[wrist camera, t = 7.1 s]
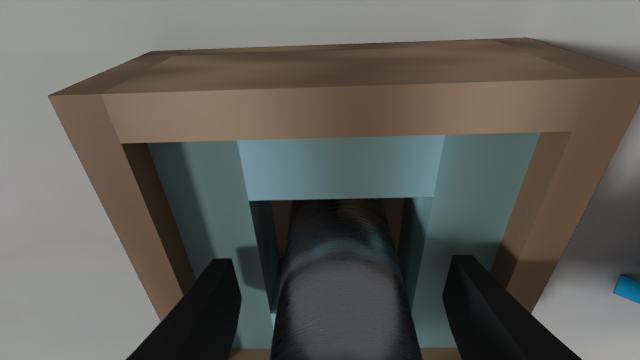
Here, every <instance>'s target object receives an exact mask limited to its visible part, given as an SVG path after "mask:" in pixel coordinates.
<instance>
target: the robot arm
mask: <svg viewBox="0 0 640 360" xmlns="http://www.w3.org/2000/svg"><path fill="white" fill-rule="evenodd" d="M442 299H443V303H444V307H445V311H446V315H447V319H448V322H449V326H450V329H451V332H452V335H453V337H454V340H455V343H456V345H457V348H458V350H459V353H460V356H461V358H462V360H582V359H581V358H580V357H578V356H577V355H576V354H575V353H574V352H572V351H571V350H570V349H569V348H568V347H567V346H565V345H564V344H563V343H562V342H561V341H560V340H559V339H558V338H556V337H555V336H554V335H553V334H552V333H551V332H550V331H549V330H547V329H546V328H545V327H544V326H543V325H542V324H541V323H540V322H539V321H538V320H537V319H536V318H535V317H534V316H532V315H531V314H530V313H529V312H528V311H527V310H526V309H525V308H524V307H523V306H522V305H521V304H520V303H519V302H518V301H517V300H516V299H515V298H514V297H513V296H512V295H511V294H510V293H509V292H508V291H507V290H506V289H505V288H504V287H503V286H502V285H501V284H500V283H499V282H498V281H497V280H496V279H495V278H494V277H493V276H492V275H491V274H490V273H489V272H488V271H487V270H486V269H485V268H484V267H483V265H482V264H481V263H480V262H479V261H478V260H477V259H476V258H475V257H474V256H473V255H452V259H451V263H450V267H449V271H448V275H447V278H446V282H445V286H444V290H443V294H442ZM241 302H242V296H241V292H240V288H239V285H238V281H237V277H236V273H235V269H234V265H233V261H232V258H214V259H212V260H211V261H210V263H209V264H208V265H207V267H206V268H205V269H204V270H203V272H202V273H201V274H200V276H199V277H198V278H197V279H196V281H195V282H194V283H193V284H192V286H191V287H190V288H189V289H188V291H187V292H186V293H185V294H184V296H183V297H182V298H181V299H180V300H179V301H178V303H177V304H176V305H175V306H174V307H173V309H172V310H171V311H170V312H169V313H168V315H167V316H166V317H165V318H164V319H163V320H162V321H161V323H160V324H159V325H158V326H157V327H156V328H155V329H154V330H153V331H152V332H151V334H150V335H149V336H148V337H147V338H146V339H145V340H144V341H143V342H142V343H141V344H140V346H139V347H138V348H137V349H136V350H135V351H134V352H133V353H132V354H131V355H130V356H129V357H128V358H127V359H126V360H228V359H229V355H230V352H231V348H232V345H233V341H234V338H235V334H236V330H237V325H238V320H239V314H240V308H241Z"/></svg>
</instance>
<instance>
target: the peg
mask: <svg viewBox="0 0 640 360" xmlns="http://www.w3.org/2000/svg"><path fill="white" fill-rule="evenodd" d="M269 360H423V358H422V354H421V350H420V346H419V342H418V338H417V334H416V330H415V326H414V322H413V318H412V314H411V310H410V306H409V302H408V298H407V294H406V290H405V286H404V282H403V278H402V274H401V270H400V266H399V262H398V259H397V255H396V251H395V247H394V243H393V239H392V235H391V231H390V227H389V223H388V219H387V215H386V211H385V207H384V203H383V200H382V198H355V199H306V200H293V203H292V207H291V214H290V221H289V228H288V234H287V241H286V248H285V255H284V262H283V269H282V276H281V283H280V290H279V296H278V303H277V310H276V317H275V324H274V331H273V338H272V345H271V352H270V359H269Z"/></svg>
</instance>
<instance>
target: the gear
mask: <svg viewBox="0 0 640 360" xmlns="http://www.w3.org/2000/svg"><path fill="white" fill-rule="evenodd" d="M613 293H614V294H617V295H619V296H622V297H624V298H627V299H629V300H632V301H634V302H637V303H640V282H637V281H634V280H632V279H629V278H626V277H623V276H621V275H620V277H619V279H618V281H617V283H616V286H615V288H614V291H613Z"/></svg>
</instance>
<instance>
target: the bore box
mask: <svg viewBox="0 0 640 360" xmlns="http://www.w3.org/2000/svg"><path fill="white" fill-rule="evenodd" d="M48 98H49V100H50V102H51V104H52V106H53V108H54V110H55V112H56V114H57V116H58V118H59V120H60V122H61V124H62V126H63V128H64V130H65V132H66V134H67V136H68V138H69V140H70V142H71V144H72V146H73V147H74V149H75V151H76V153H77V155H78V157H79V159H80V161H81V163H82V165H83V167H84V169H85V171H86V173H87V175H88V177H89V179H90V181H91V183H92V185H93V187H94V189H95V191H96V193H97V195H98V197H99V199H100V201H101V203H102V205H103V207H104V209H105V211H106V213H107V215H108V217H109V219H110V221H111V223H112V225H113V227H114V229H115V231H116V233H117V235H118V237H119V239H120V241H121V243H122V245H123V247H124V249H125V251H126V253H127V255H128V257H129V259H130V261H131V263H132V265H133V267H134V269H135V271H136V273H137V275H138V277H139V279H140V281H141V283H142V285H143V287H144V289H145V291H146V293H147V295H148V297H149V299H150V301H151V303H152V305H153V307H154V309H155V311H156V313H157V315H158V317H159V319H160V321H162V320H163V319H164V318H165V317H166V316H167V315H168V313H169V312H170V311H171V310H172V309H173V307H174V306H175V305H176V304H177V303H178V301H179V300H180V299H181V298H182V297H183V296H184V294H185V293H186V292H187V291H188V289H189V288H190V287H191V286H192V284H193V283H194V282H195V281H196V279H197V278H198V277H199V276H200V274H201V273H202V272H203V270H204V269H205V268H206V267H207V265H208V264H209V263H210V261H211V260H212V259H214V258H232V261H233V265H234V269H235V273H236V277H237V281H238V285H239V288H240V292H241V296H242V302H241V308H240V314H239V320H238V325H237V330H236V334H235V338H234V341H233V345H232V348H231V352H230V355H229V359H228V360H269V359H270V352H271V345H272V338H273V331H274V324H275V317H276V310H277V303H278V296H279V290H280V283H281V276H282V269H283V262H284V255H285V248H286V241H287V234H288V228H289V221H290V214H291V207H292V203H293V200H306V199H355V198H382V200H383V203H384V207H385V211H386V215H387V219H388V223H389V227H390V231H391V235H392V239H393V243H394V247H395V251H396V255H397V259H398V262H399V266H400V270H401V274H402V278H403V282H404V286H405V290H406V294H407V298H408V302H409V306H410V310H411V314H412V318H413V322H414V326H415V330H416V334H417V338H418V342H419V346H420V350H421V354H422V358H423V360H462V358H461V356H460V353H459V350H458V348H457V345H456V343H455V340H454V337H453V335H452V332H451V329H450V326H449V322H448V319H447V315H446V311H445V307H444V303H443V299H442V294H443V290H444V286H445V282H446V278H447V275H448V271H449V267H450V263H451V259H452V255H473V256H474V257H475V258H476V259H477V260H478V261H479V262H480V263H481V264H482V265H483V267H484V268H485V269H486V270H487V271H488V272H489V273H490V274H491V275H492V276H493V277H494V278H495V279H496V280H497V281H498V282H499V283H500V284H501V285H502V286H503V287H504V288H505V289H506V290H507V291H508V292H509V293H510V294H511V295H512V296H513V297H514V298H515V299H516V300H517V301H518V302H519V303H520V304H521V305H522V306H523V307H524V308H525V309H526V310H527V311H528V312H529V313H530V314H531V313H532V311H533V309H534V307H535V305H536V303H537V301H538V299H539V298H540V296H541V294H542V292H543V290H544V288H545V286H546V284H547V282H548V280H549V278H550V276H551V274H552V272H553V270H554V269H555V267H556V265H557V263H558V261H559V259H560V257H561V255H562V253H563V251H564V249H565V247H566V245H567V243H568V241H569V240H570V238H571V236H572V234H573V232H574V230H575V228H576V226H577V224H578V222H579V220H580V218H581V216H582V214H583V212H584V211H585V209H586V207H587V205H588V203H589V201H590V199H591V197H592V195H593V193H594V191H595V189H596V187H597V185H598V183H599V181H600V180H601V178H602V176H603V174H604V172H605V170H606V168H607V166H608V164H609V162H610V160H611V158H612V156H613V154H614V152H615V151H616V149H617V147H618V145H619V143H620V141H621V139H622V137H623V135H624V133H625V131H626V129H627V127H628V125H629V123H630V122H631V120H632V118H633V116H634V114H635V112H636V110H637V108H638V106H639V104H640V72H637V71H634V70H630V69H627V68H624V67H621V66H617V65H614V64H611V63H607V62H604V61H601V60H598V59H594V58H591V57H588V56H585V55H581V54H578V53H575V52H571V51H568V50H565V49H562V48H558V47H555V46H552V45H549V44H545V43H542V42H539V41H535V40H532V39H529V38H505V39H477V40H450V41H422V42H394V43H366V44H338V45H310V46H282V47H254V48H226V49H198V50H170V51H151V52H148V53H146V54H144V55H141V56H139V57H137V58H134V59H132V60H130V61H127V62H125V63H123V64H120V65H118V66H116V67H113V68H111V69H109V70H106V71H104V72H102V73H99V74H97V75H95V76H92V77H90V78H88V79H86V80H83V81H81V82H79V83H76V84H74V85H72V86H69V87H67V88H65V89H62V90H60V91H58V92H55V93H53V94H51V95H48Z"/></svg>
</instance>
